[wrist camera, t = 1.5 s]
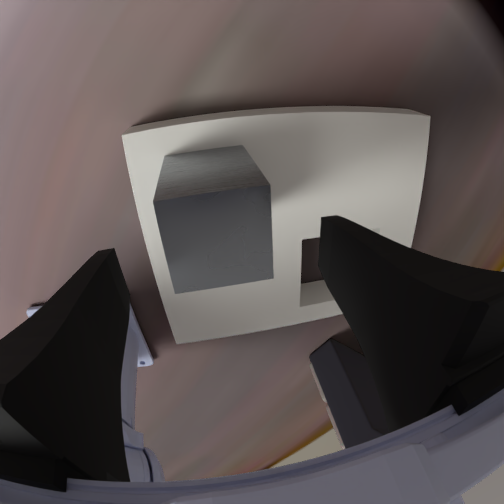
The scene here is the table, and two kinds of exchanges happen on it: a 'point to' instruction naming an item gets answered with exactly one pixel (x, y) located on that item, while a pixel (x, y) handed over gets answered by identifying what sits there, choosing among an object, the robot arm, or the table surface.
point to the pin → (214, 219)
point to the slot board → (286, 200)
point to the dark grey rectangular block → (348, 393)
